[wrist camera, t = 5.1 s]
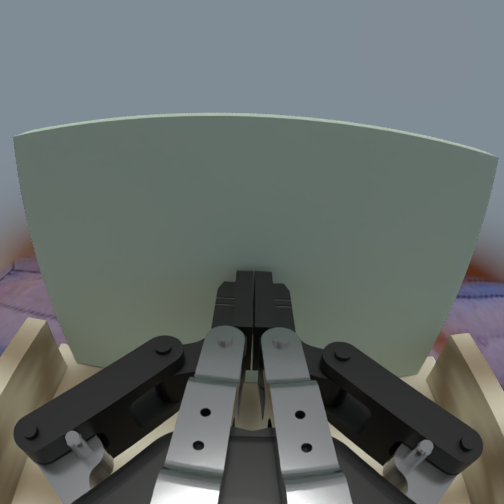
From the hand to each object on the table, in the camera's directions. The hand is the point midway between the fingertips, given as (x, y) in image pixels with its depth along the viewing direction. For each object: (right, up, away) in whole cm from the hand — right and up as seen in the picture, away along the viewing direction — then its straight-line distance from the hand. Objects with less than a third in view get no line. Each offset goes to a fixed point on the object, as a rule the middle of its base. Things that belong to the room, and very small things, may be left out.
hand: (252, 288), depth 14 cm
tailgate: (0, -5, +5) cm, 7 cm away
